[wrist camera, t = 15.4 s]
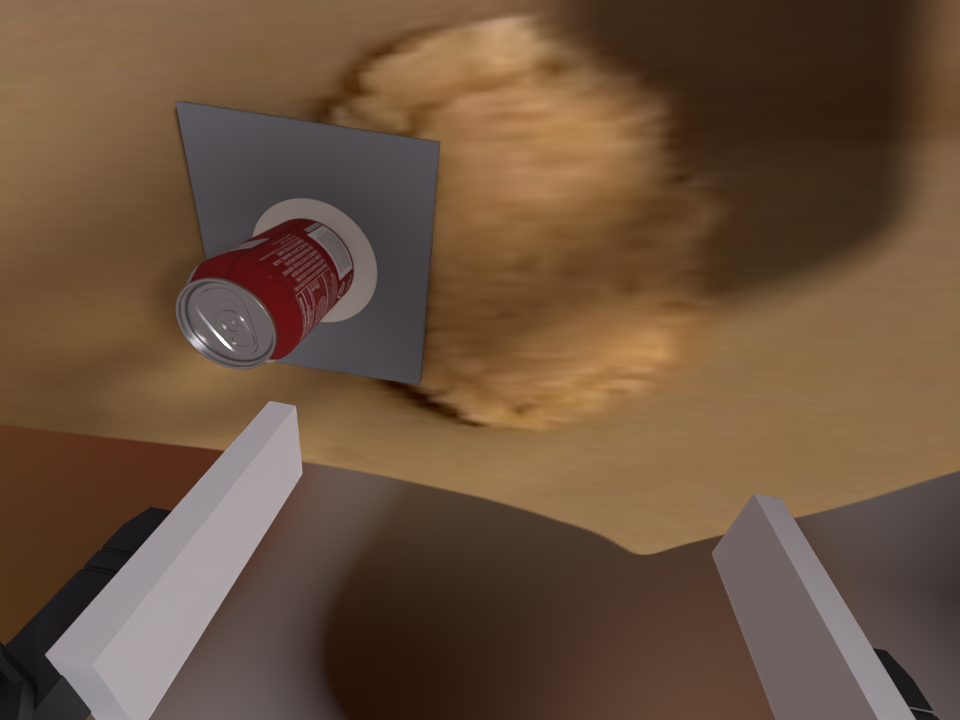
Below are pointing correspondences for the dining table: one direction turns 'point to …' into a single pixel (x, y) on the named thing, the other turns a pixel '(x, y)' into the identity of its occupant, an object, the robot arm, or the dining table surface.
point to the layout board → (327, 222)
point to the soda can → (264, 293)
